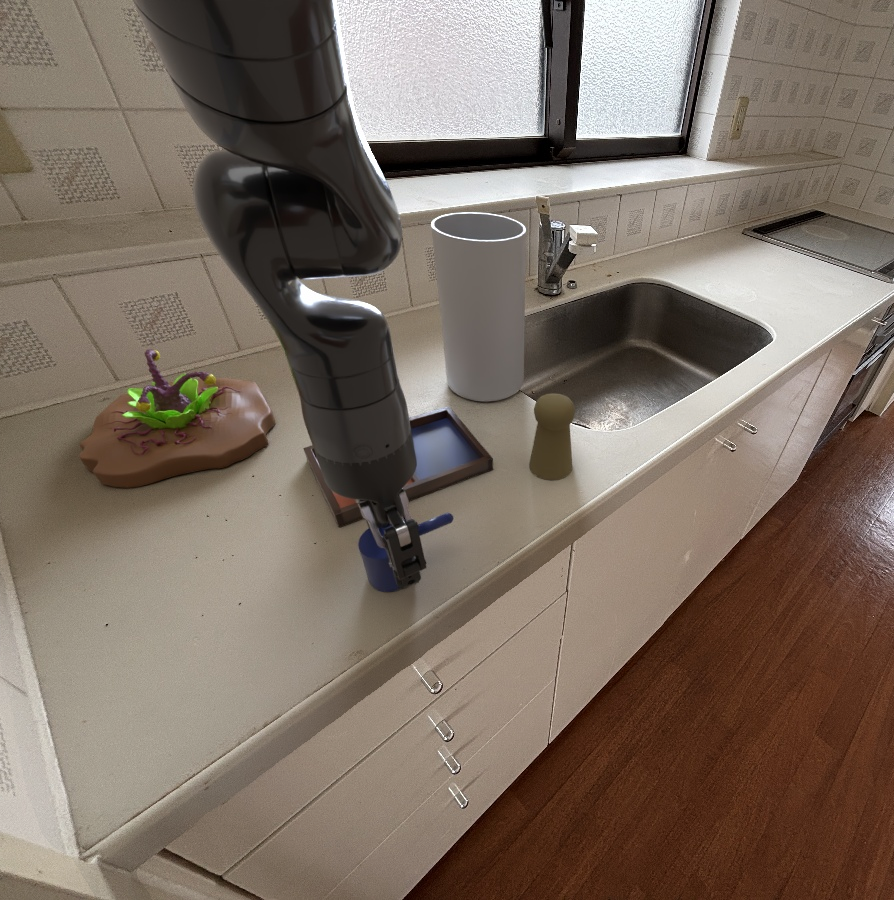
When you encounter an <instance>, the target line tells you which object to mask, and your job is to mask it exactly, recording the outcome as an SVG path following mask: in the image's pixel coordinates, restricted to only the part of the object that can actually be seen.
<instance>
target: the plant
mask: <svg viewBox="0 0 894 900" xmlns="http://www.w3.org/2000/svg"><path fill="white" fill-rule="evenodd" d="M144 357H145V359H146V365H147V366H148V372H149V373H150V375H151V378H152V382H151V384H148V385H146V386H143V388H138V387H136V388H130V387H129V388H128V389H127V390H126V393H124V394H120V395H119V396H118V397H117V398H116V399H115V400H113V401H112V402H110V403H109V404H108V405H107V406H106V407H105V408H104V409H103V410H102V411H101V412H100V413H98V414H97V415H96V417H95V419H94V422H93V426H92V432H91V433H90V435H89V436H88V437H87V438H85V439H83V440H82V441H81V442H79V443H78V446H79V447H80V449H81V450H82V451H81V452H80V453H79V455H78V458H79V459H80V461H81V462H82V464H83V465H84V466H85V468H86V469H87V470H88V471H89V472H91V473H93V474H94V476H95V477H96V478H97V480H98V481H99V482H100V483H101V484H102V485H105V486H110V487H114V488H124V489H125V488H138V487H141V486H146V485H150V484H154V483H157V482H159V481H162V480H167V479H169V478H172V477H175V476H180V475H186V474H190V473H194V472H195V473H197V472H200V471H206V470H212V469H224V468H228V467H229V466H230V465H233V464H234V463H238V462H240V461H242V460H245V459H248V458H249V457H251V456H252V455H254V454H255V453H256V452H258V451H259V450H262V449H263V448H266V447H268V446H269V445H270V442H269V440H268V437H267V433H268V432H269V431H270V430H271V429H273V428H274V427H275V425H276V419H275V416H274V413H273V411H272V409H271V407H270V405H269V403H268V401H267V400H266V398H265V396H264V394H263V393H262V390H261V388H260V387H259V386H258V384H257V383H256V382H255V381H253V380H244V379H235V378H229V377H215V375H213V374H212V373H210V372H207V371H194V372H190V373H189V372H187V373H182V374H180V375H178V377H177V378H176V379H174V381H171V382H168V380H167V379H165V378H164V375H163V374H161V371H160V369H158V365H157V364H156V363H155V362H157V361H159V360H160V359H161V354H160V352H159V351H158V350H156V349H155V348H149V349H146V350H145V352H144ZM193 378H194V379H193ZM196 378H198V379H196Z"/></svg>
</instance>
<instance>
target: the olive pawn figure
mask: <svg viewBox="0 0 894 900" xmlns="http://www.w3.org/2000/svg"><path fill="white" fill-rule="evenodd" d="M575 413H576V408H575V405H574V402H573V401H572V399H570V398H569V397H568V396H566V395H564V394H561V393H551V392H550V393H546V394H543V395H541V396H540V397H539V398H538V399H537V400H536V401H535V404H534V407H533V414H534V419H535V421H536V422H537V423H536V429H535V434H534V438H533V444H532V448H531V453H530V457H529V463H528V466H529V470H530V472H531V473H532V474H533V475H534V476H536V477H537V478H539V479H542V480H546V481H559V480H562V479H565V478H566V477H567V476H569V475H570V474H571V472H572V471H573V453H572V438H571V424H572V423H573V421H574V418H575Z"/></svg>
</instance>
